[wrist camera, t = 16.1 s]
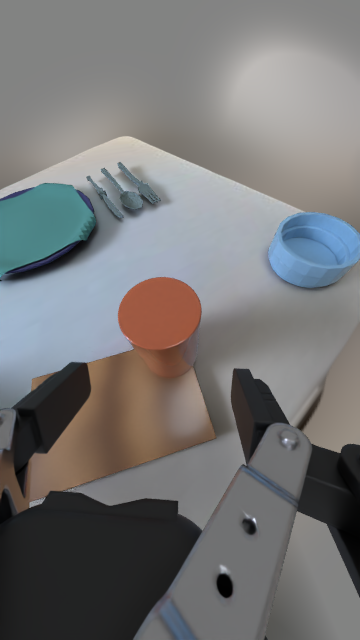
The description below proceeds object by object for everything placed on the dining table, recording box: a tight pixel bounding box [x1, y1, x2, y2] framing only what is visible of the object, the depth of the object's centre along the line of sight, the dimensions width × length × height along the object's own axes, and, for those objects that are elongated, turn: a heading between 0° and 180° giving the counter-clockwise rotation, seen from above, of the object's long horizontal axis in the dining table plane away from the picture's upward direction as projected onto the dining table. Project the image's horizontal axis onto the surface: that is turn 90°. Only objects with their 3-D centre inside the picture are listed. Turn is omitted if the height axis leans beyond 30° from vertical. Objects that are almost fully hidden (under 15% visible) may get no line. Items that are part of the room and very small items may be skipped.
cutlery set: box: [0, 162, 161, 281], centre depth 32 cm, size 20×30×2 cm, turn 124°
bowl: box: [268, 212, 360, 288], centre depth 25 cm, size 9×10×4 cm
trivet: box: [29, 349, 216, 502], centre depth 19 cm, size 16×10×1 cm, turn 106°
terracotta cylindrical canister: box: [118, 277, 202, 378], centre depth 17 cm, size 6×6×8 cm
